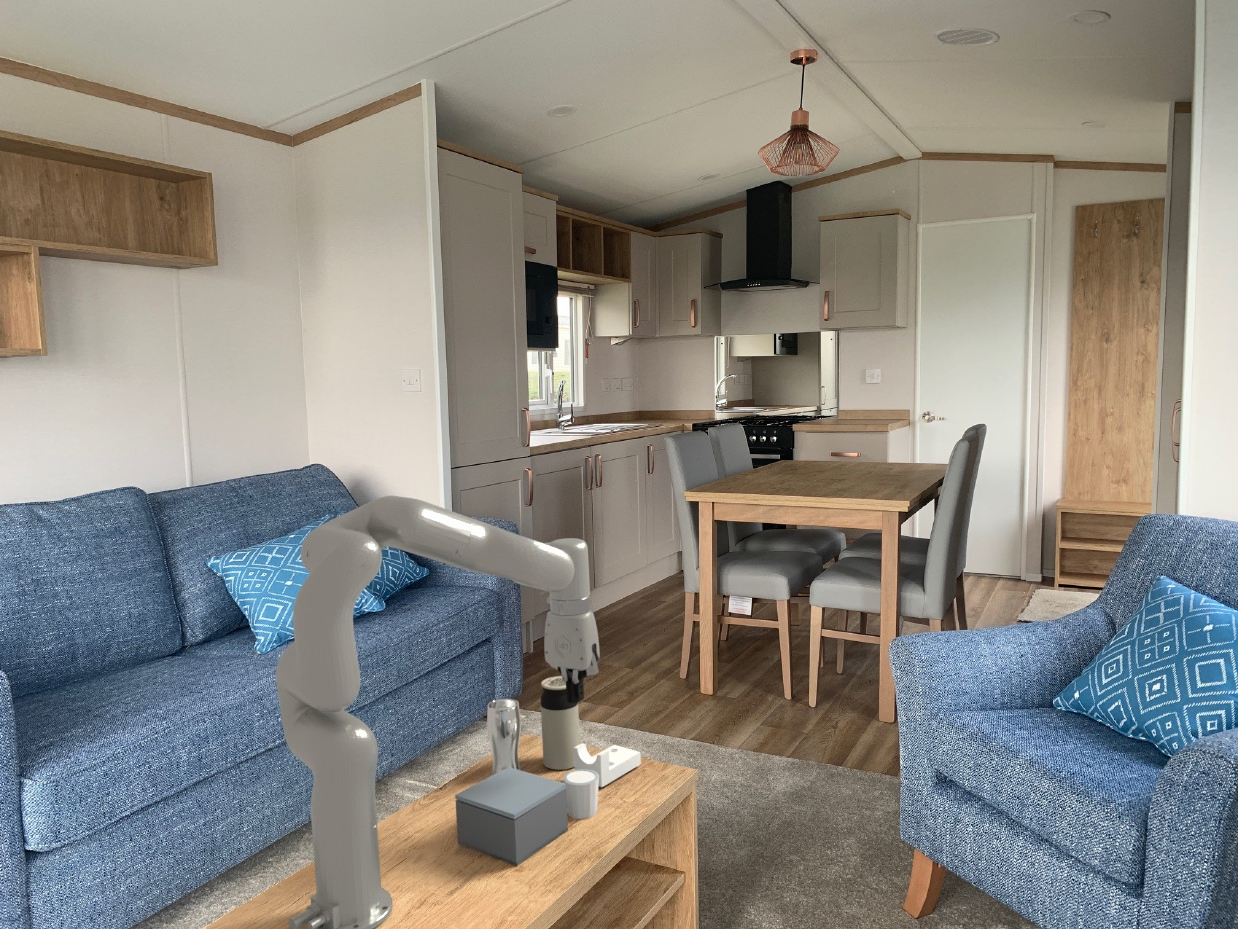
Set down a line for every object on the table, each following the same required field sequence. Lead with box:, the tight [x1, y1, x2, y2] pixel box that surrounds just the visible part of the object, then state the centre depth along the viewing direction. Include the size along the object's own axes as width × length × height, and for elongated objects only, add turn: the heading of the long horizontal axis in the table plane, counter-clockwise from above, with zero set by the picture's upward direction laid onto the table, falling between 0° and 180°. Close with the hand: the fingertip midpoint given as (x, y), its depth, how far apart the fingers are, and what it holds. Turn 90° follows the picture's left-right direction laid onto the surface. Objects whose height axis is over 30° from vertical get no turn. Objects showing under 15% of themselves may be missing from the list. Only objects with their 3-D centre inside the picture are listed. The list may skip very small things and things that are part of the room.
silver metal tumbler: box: [486, 698, 522, 776], centre depth 183 cm, size 7×7×15 cm
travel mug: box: [540, 675, 581, 771], centre depth 187 cm, size 8×8×18 cm
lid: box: [454, 767, 566, 819], centre depth 156 cm, size 14×14×1 cm
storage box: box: [455, 789, 569, 867], centre depth 157 cm, size 14×14×8 cm
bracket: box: [574, 742, 642, 788], centre depth 181 cm, size 13×7×8 cm, turn 142°
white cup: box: [562, 769, 599, 820], centre depth 165 cm, size 7×7×7 cm
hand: (575, 700), depth 163 cm, fingers closed
